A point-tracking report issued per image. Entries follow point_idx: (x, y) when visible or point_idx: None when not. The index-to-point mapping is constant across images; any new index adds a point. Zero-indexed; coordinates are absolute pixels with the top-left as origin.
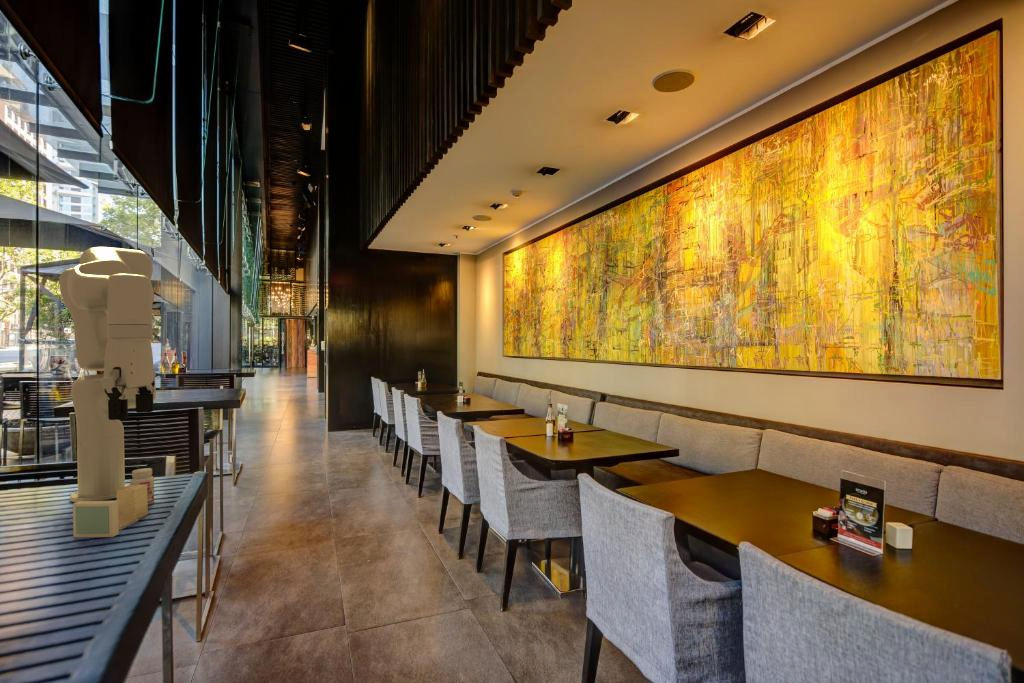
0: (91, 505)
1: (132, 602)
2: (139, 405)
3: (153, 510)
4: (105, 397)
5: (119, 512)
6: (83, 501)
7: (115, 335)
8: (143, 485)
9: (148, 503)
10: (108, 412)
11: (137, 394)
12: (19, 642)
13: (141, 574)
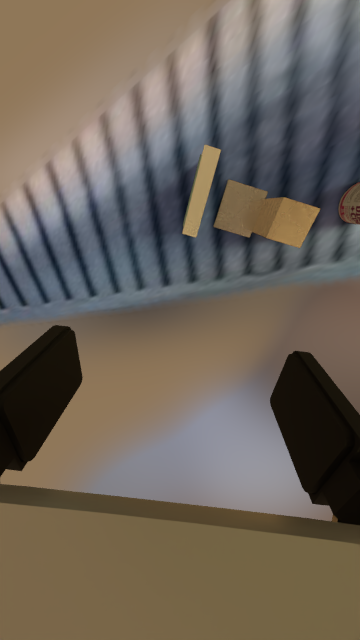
0: (192, 191)
1: (12, 321)
2: (299, 390)
3: None
4: None
5: (266, 203)
6: (215, 162)
7: None
8: (296, 242)
9: (342, 218)
10: (33, 343)
11: (355, 450)
12: None
13: (63, 309)
